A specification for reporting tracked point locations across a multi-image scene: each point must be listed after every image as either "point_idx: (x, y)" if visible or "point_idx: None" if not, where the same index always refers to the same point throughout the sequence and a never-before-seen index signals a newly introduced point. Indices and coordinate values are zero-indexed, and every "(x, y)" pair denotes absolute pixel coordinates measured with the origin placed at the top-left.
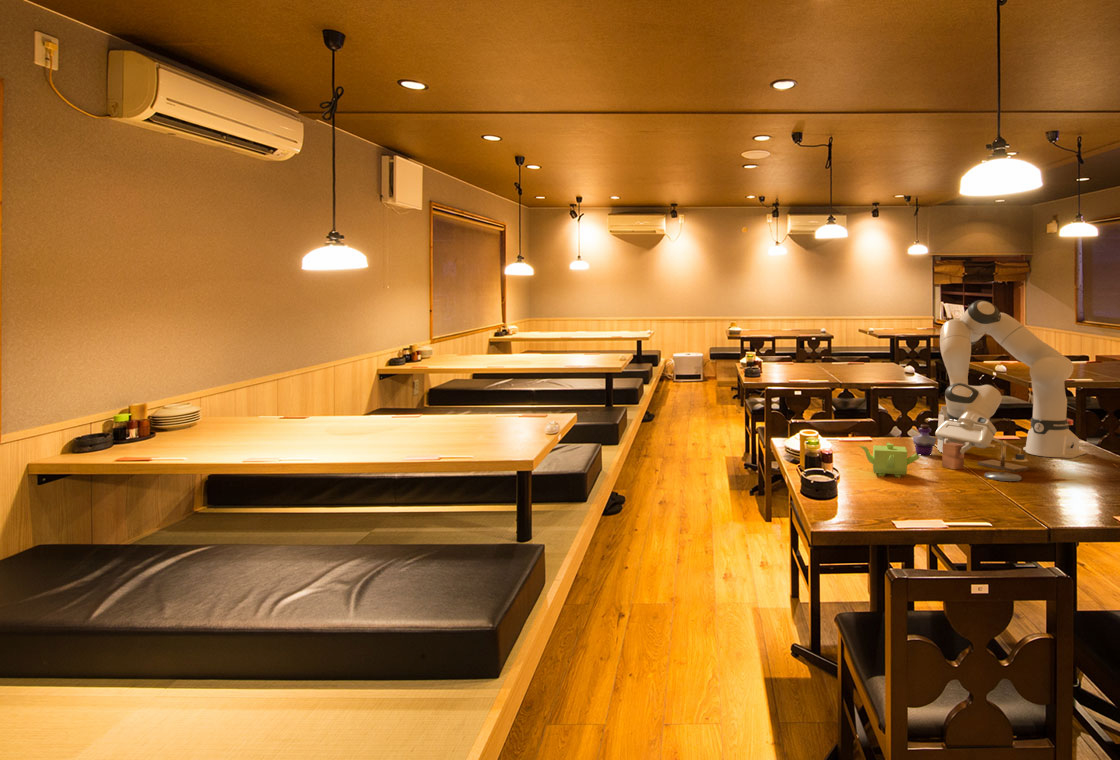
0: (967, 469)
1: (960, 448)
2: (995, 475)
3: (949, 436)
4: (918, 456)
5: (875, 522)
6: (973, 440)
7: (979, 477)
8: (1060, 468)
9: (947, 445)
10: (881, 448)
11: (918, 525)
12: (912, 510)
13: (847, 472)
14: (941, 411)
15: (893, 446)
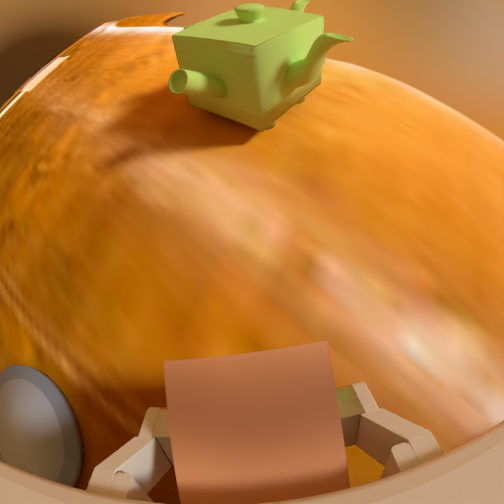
0: None
1: (163, 425)
2: (29, 406)
3: (396, 479)
4: (182, 88)
5: (79, 46)
6: (29, 480)
7: (64, 359)
8: None
9: (263, 352)
10: (262, 12)
11: (43, 71)
12: (64, 73)
13: None
14: None
15: (238, 14)
